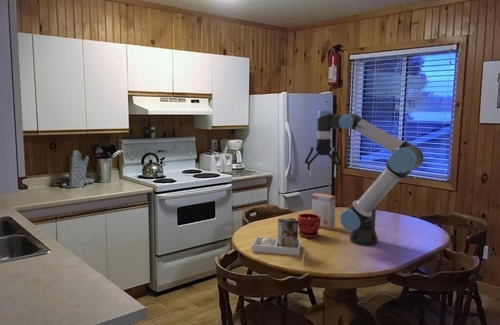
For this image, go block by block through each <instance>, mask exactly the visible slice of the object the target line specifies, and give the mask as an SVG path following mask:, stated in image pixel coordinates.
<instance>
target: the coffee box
mask: <svg viewBox="0 0 500 325" xmlns="http://www.w3.org/2000/svg"><path fill="white" fill-rule="evenodd" d="M298 230H299V227H298V219H296V218H294V217H291V218H278V219H277V238H278V246H279V247H293V248H298V240H299V236H298V235H299V231H298Z"/></svg>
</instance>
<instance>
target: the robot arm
mask: <svg viewBox="0 0 500 325" xmlns="http://www.w3.org/2000/svg"><path fill="white" fill-rule="evenodd" d="M316 126H317V130H316V138H317V139H316V147H315V146H311V148H310V151H309V153H308V155H307V156H306V158H305V160H304V164H307V170H308V171H309V177H312V163H313V162H314V160H315V159H316V158H317V157H318V156H328V157H329V158H330V159H331V161H333V163H334V169H333V170H334V172H333V177H334V178H336V177H337V176H336V175H337V174H336V173H337V172H338V171H339V166H340V165H342V163H343V162H342V161H341V158H340V157H339V154H338V151H337V147H335V146H334V147H332V146H331V143H332V142H331V141H332V139H331V138H332V129H342V130H347V129H348V130H349V129H351V130H353V131H355V132H357V133H358V134H360V135H362V136H363V137H365V138H367V139H369V141H370V140H371V141H372V142H374V143H376V144H377V145H378V146H381V147H382V148H383V149H386V150H387V151H389V152H390V154H389V156H388V160H387V161H386V162H385V164H384V165H385V168H384V170H383V171H382V172H381V173H380V174H379V175H378V177H377V178H376V179H375V180H373V183H372V184H371V185H370V186H369V187H368V188H367V190H366V191H365V192H364V193H363V194H362V195H361V196H360V198H359V199H358V200H353V201H352V202H351V204H350V205H349V206H348V207H347V208H346V209H344V210H343V211H342V212H341V213H340V215H339V219H340V224H341V226H342V227H343V228H345V229H346V230H347V231H351V233H350V234H349V235H350V236H349V241H350V242H351V243H353V244H355V245H360V246H374V245H377V244H376V243H378V239H379V238H378V235H377V231H376V218H377V217H376V214H377V205H379V203H380V202H381V201H382V200H383V199H384V198H385V196H387V194H388V193H389V192H390V191H391V190H392V189H393V187H394V186H396V184H397V183H398V182H399V181H400V180H404V179H406V178H407V177H408V175H409V174H410V173H411V172H412V171H413V170H415V169H418V168H419V167H420V166H422V164H423V162H424V160H425V159H424V153H423V151H422V150H421V149H420V148H419V147H418V146H416V145H414V144H413V143H410V142H408V141H406V140H404V141H403V140H401V139H399V138H397V137H396V136H394V135H392V134H390V133H388V132H386V131H385V130H382V129H381V128H379V127H377V126H376V125H374V124H372V123H370V122H369V121H367V120H365V119H364V118H362V116H360V114H356V113H347V114H346V113H344V114H336V113H335V114H334V113H332V110H325V109H324V110H322V109H321V110H318V111H317V125H316ZM315 151H316V153H315V154H314V155H313V156H312V153H313V152H315ZM331 151H332V153H333V152H334V155H335V157H336V159H337V160H336V159H335V157H333V155H332V154H331V153H330V152H331ZM311 156H312V157H311ZM310 158H311V159H310ZM309 159H310V160H309Z"/></svg>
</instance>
